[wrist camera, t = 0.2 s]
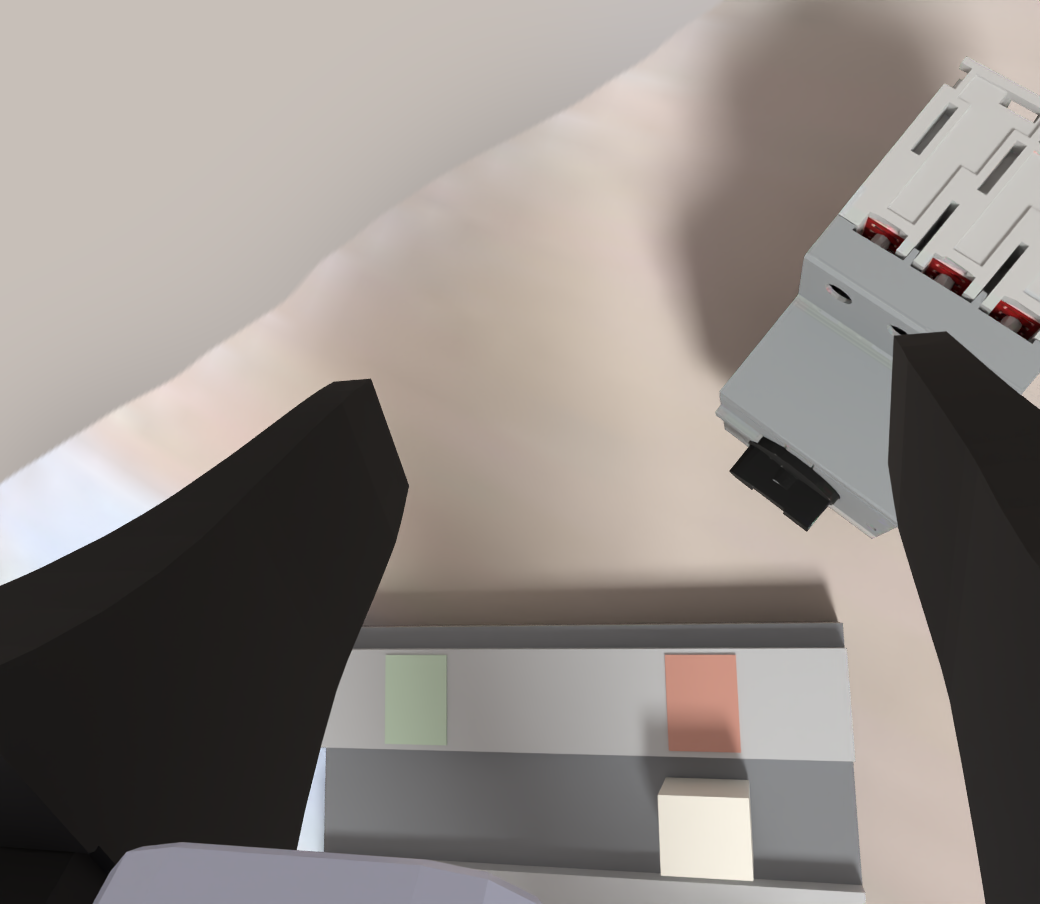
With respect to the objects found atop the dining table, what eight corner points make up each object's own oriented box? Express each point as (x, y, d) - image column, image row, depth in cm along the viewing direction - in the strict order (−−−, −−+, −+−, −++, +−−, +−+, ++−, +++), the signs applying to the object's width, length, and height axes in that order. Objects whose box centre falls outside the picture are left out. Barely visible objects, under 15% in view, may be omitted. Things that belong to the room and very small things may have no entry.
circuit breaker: (705, 471, 42) (681, 407, 28) (896, 236, 42) (972, 49, 28) (837, 573, 40) (883, 559, 26) (1041, 326, 40) (1204, 173, 25)
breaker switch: (753, 855, 37) (753, 881, 34) (669, 850, 38) (660, 875, 35) (749, 780, 38) (748, 798, 34) (666, 777, 39) (657, 794, 35)
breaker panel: (867, 1010, 37) (877, 1045, 34) (340, 962, 43) (310, 989, 40) (838, 621, 40) (845, 624, 37) (346, 626, 46) (318, 628, 43)
